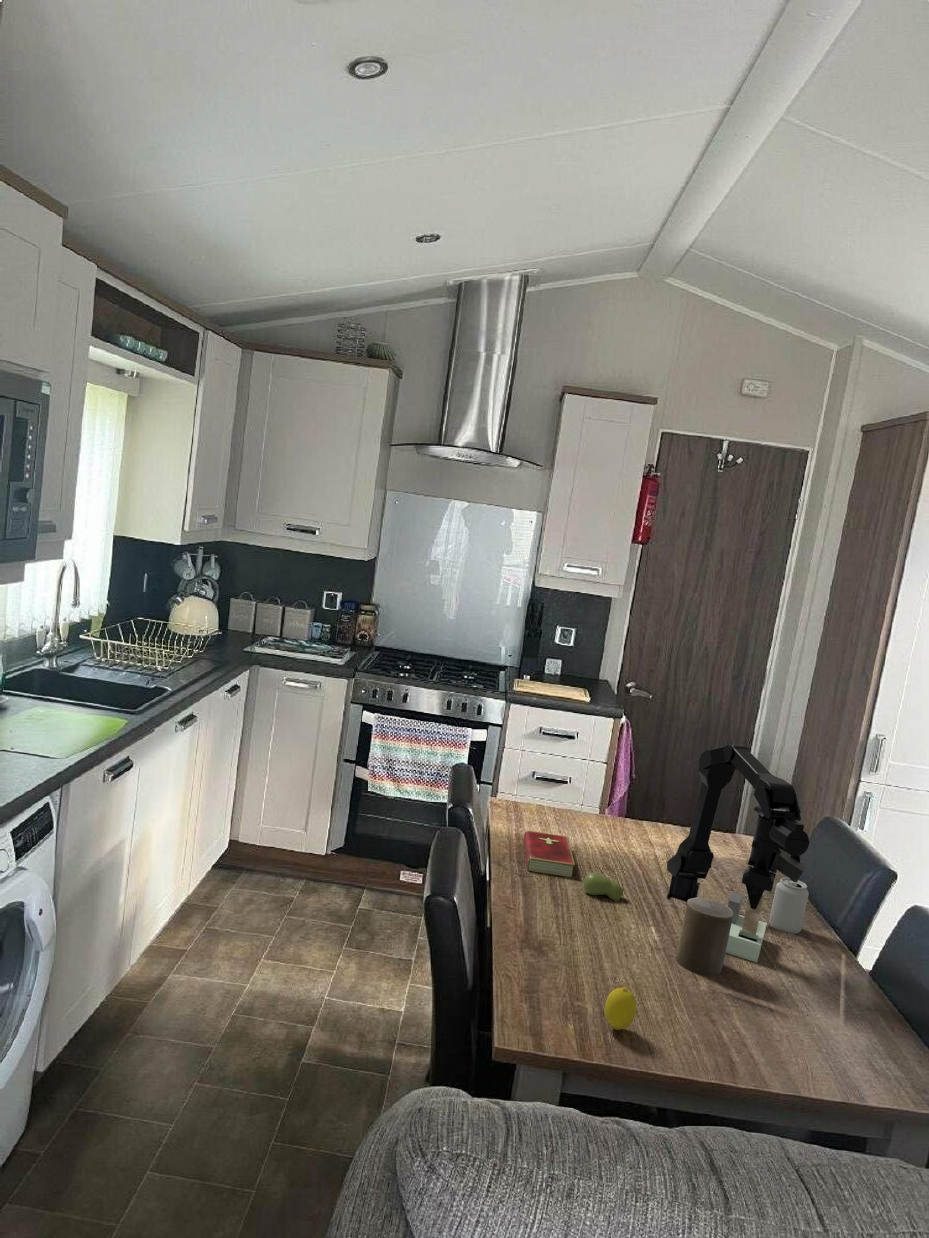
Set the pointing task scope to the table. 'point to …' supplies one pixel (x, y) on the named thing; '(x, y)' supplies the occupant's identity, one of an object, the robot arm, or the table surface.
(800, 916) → the can
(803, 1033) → the table surface
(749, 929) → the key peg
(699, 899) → the pillar candle
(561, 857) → the hardcover book
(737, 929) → the green slotted base
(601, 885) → the pear
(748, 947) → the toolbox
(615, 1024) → the lemon
